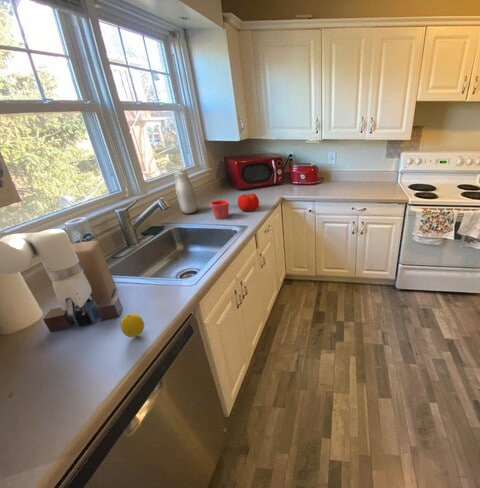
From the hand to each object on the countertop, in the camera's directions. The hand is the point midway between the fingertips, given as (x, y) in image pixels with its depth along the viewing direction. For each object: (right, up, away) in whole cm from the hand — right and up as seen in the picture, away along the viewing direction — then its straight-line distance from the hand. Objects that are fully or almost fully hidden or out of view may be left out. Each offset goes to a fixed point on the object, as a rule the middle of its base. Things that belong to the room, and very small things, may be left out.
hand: (88, 318), depth 90 cm
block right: (+6, +1, +2) cm, 6 cm away
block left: (-6, -1, -2) cm, 7 cm away
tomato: (+25, +47, +98) cm, 112 cm away
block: (-6, +5, +11) cm, 14 cm away
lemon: (+20, -4, -7) cm, 22 cm away
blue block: (0, 0, 0) cm, 0 cm away
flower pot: (+12, +41, +85) cm, 95 cm away
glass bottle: (-12, +44, +93) cm, 104 cm away
